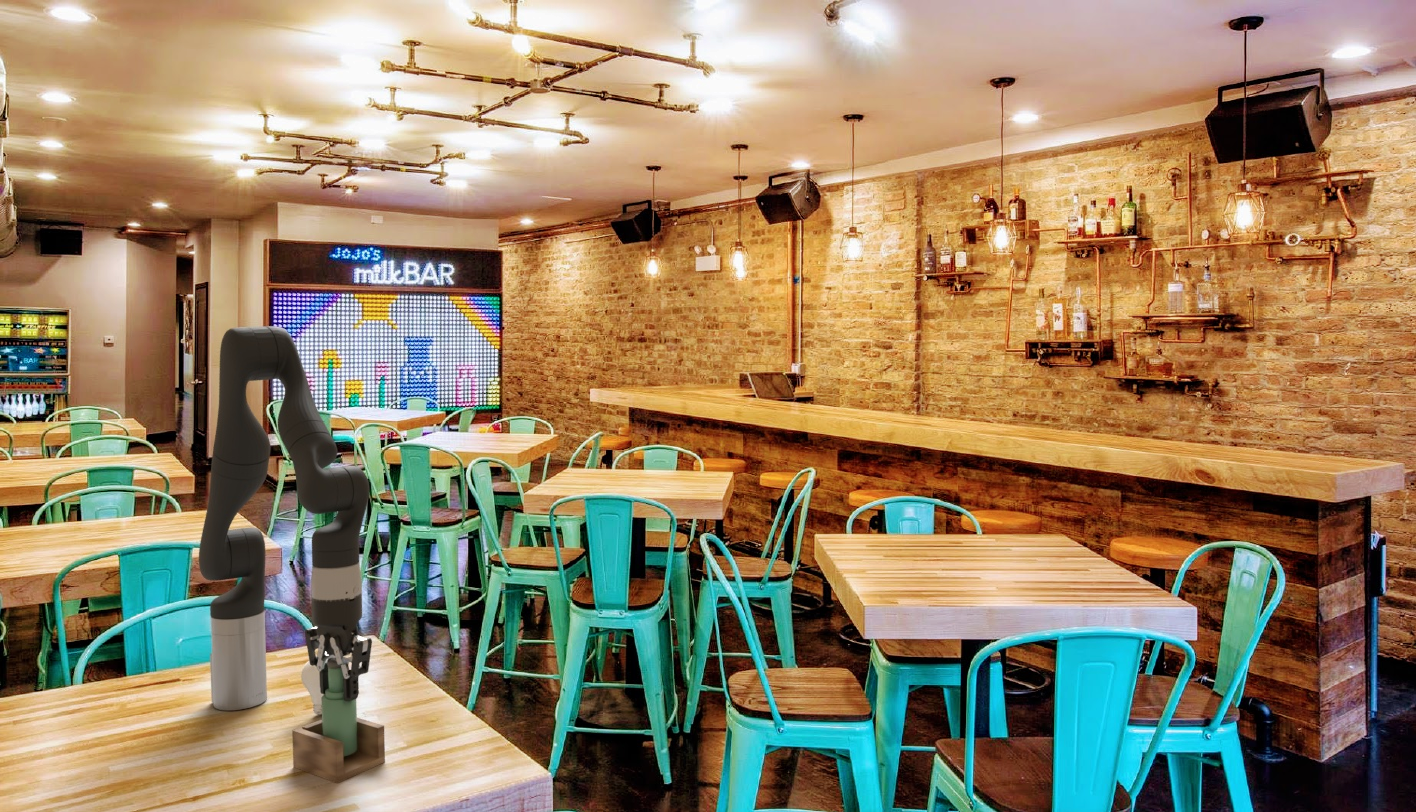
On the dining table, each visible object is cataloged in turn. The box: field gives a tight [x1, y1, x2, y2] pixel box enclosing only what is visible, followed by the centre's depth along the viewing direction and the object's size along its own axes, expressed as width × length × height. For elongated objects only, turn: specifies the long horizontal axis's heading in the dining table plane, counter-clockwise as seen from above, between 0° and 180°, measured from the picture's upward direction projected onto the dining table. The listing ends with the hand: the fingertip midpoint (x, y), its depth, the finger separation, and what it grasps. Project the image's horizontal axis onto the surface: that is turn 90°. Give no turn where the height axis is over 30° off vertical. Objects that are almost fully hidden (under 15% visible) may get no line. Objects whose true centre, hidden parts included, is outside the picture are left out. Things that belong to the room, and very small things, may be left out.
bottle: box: [321, 656, 358, 756], centre depth 154 cm, size 5×5×15 cm
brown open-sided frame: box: [291, 717, 386, 784], centre depth 154 cm, size 11×9×6 cm
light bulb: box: [300, 655, 328, 717], centre depth 175 cm, size 7×7×11 cm
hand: (339, 696), depth 154 cm, fingers closed on bottle, 5 cm apart
